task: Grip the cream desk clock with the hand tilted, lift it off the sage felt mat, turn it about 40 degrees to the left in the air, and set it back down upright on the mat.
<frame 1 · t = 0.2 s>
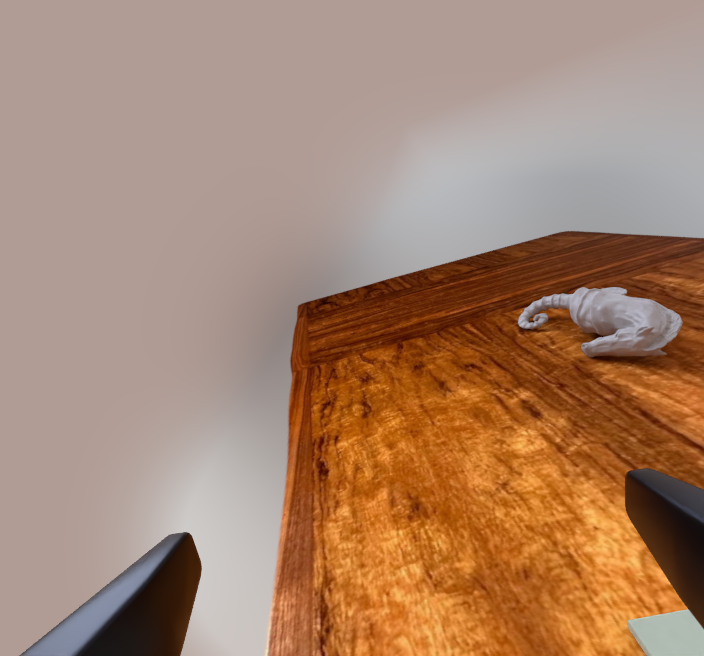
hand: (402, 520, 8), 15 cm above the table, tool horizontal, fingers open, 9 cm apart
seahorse: (588, 337, 47), on the table
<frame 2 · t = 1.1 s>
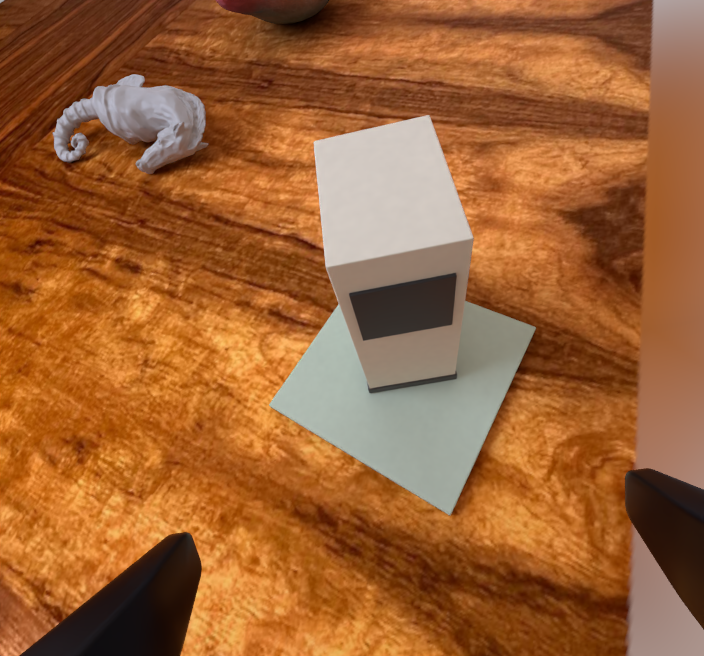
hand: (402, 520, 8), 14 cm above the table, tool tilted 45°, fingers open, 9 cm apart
bowl: (293, 27, 50), on the table
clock: (402, 334, 25), resting on mat
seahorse: (139, 146, 43), on the table
mat: (401, 369, 25), on the table
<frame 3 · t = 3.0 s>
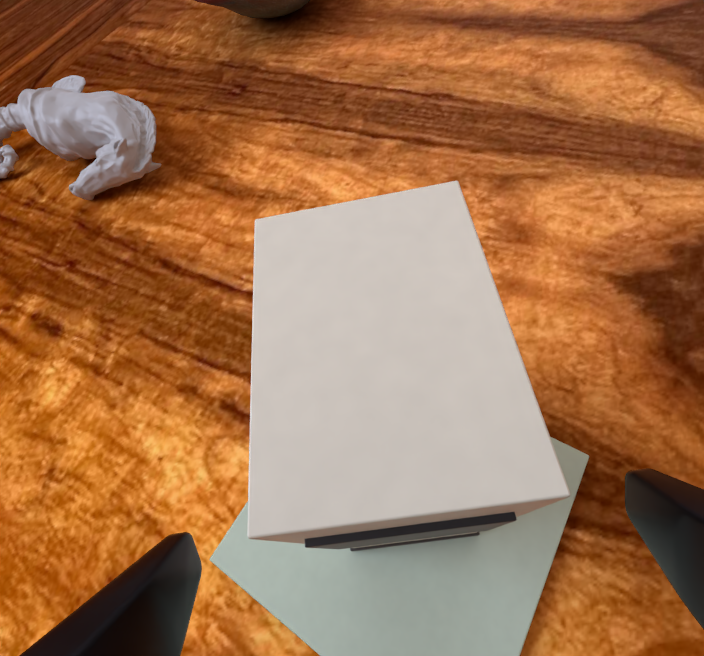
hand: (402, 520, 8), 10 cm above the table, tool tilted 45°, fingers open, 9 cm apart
bowl: (275, 23, 43), on the table
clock: (399, 454, 18), resting on mat
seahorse: (80, 163, 35), on the table
mat: (398, 509, 17), on the table
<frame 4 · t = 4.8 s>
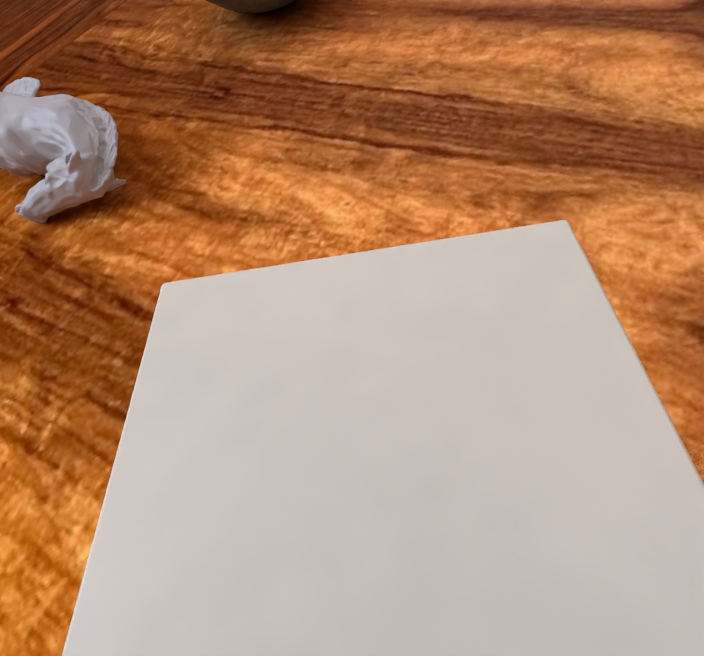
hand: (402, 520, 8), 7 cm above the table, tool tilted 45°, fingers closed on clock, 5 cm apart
bowl: (265, 18, 38), on the table
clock: (419, 589, 13), point 1 cm above the table, touching gripper, mat
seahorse: (36, 179, 30), on the table
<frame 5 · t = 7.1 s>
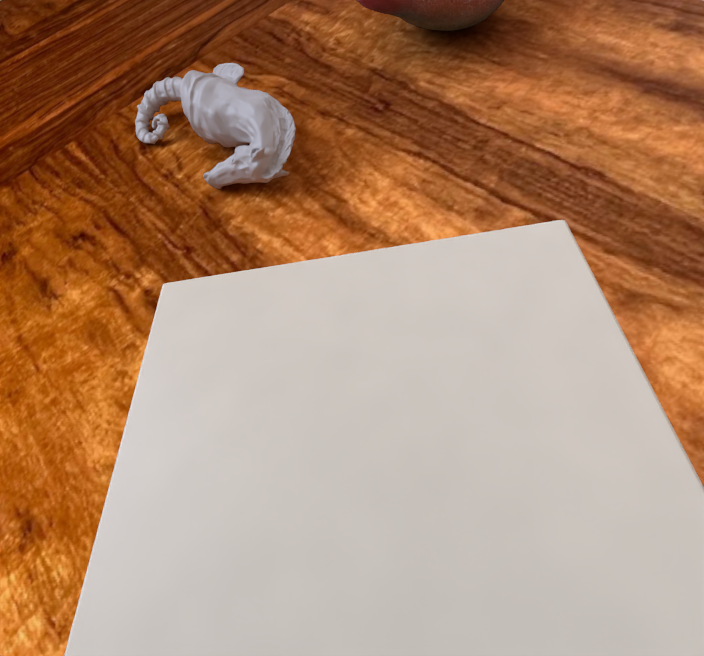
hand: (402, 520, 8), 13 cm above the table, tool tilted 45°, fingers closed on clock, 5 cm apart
bowl: (439, 35, 41), on the table
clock: (419, 588, 13), point 7 cm above the table, touching gripper
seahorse: (219, 146, 37), on the table
when the fingers open (7 cm above the table, at t = 9.8 s): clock stays where it is, resting on mat.
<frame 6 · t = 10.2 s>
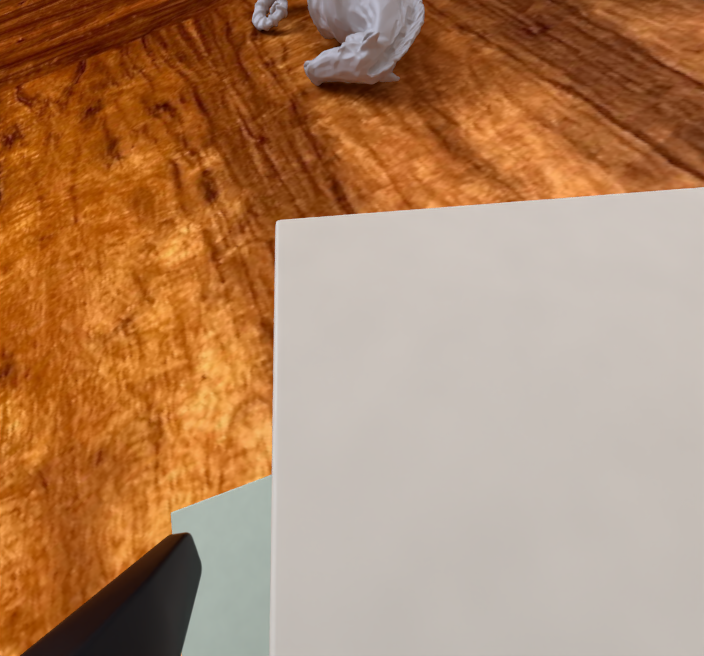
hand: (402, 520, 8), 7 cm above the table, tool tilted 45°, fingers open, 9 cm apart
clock: (421, 592, 12), point 1 cm above the table, tilted 9°, touching gripper, mat
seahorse: (332, 45, 32), on the table
mat: (370, 639, 13), on the table
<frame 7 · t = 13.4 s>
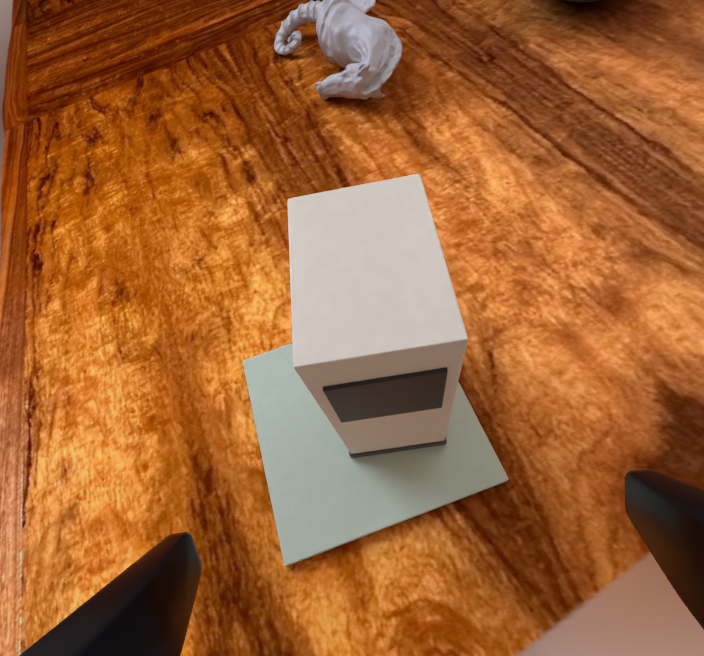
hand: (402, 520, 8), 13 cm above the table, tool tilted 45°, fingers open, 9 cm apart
bowl: (566, 6, 42), on the table
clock: (388, 389, 23), resting on mat
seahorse: (336, 67, 43), on the table
mat: (360, 415, 23), on the table
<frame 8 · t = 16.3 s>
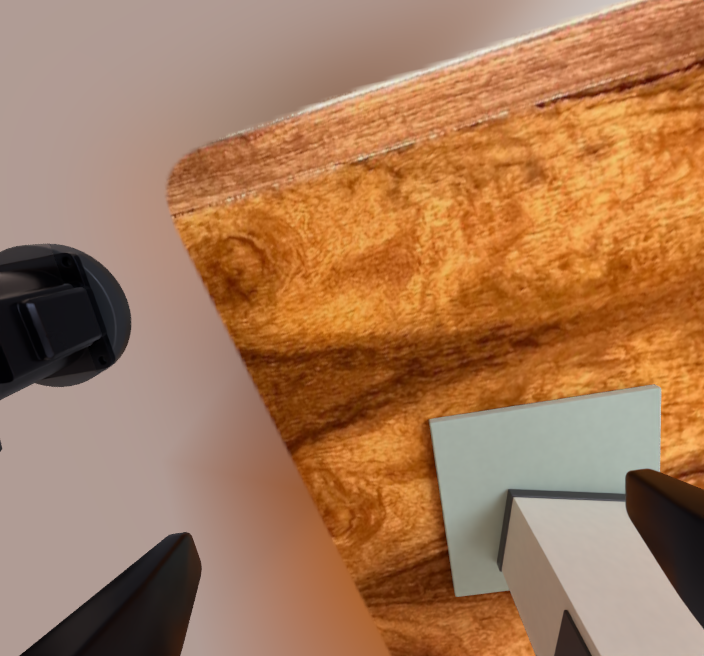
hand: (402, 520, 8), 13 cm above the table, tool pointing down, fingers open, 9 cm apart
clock: (564, 529, 23), resting on mat
mat: (545, 495, 23), on the table
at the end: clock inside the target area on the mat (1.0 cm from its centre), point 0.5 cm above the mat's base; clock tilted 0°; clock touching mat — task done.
